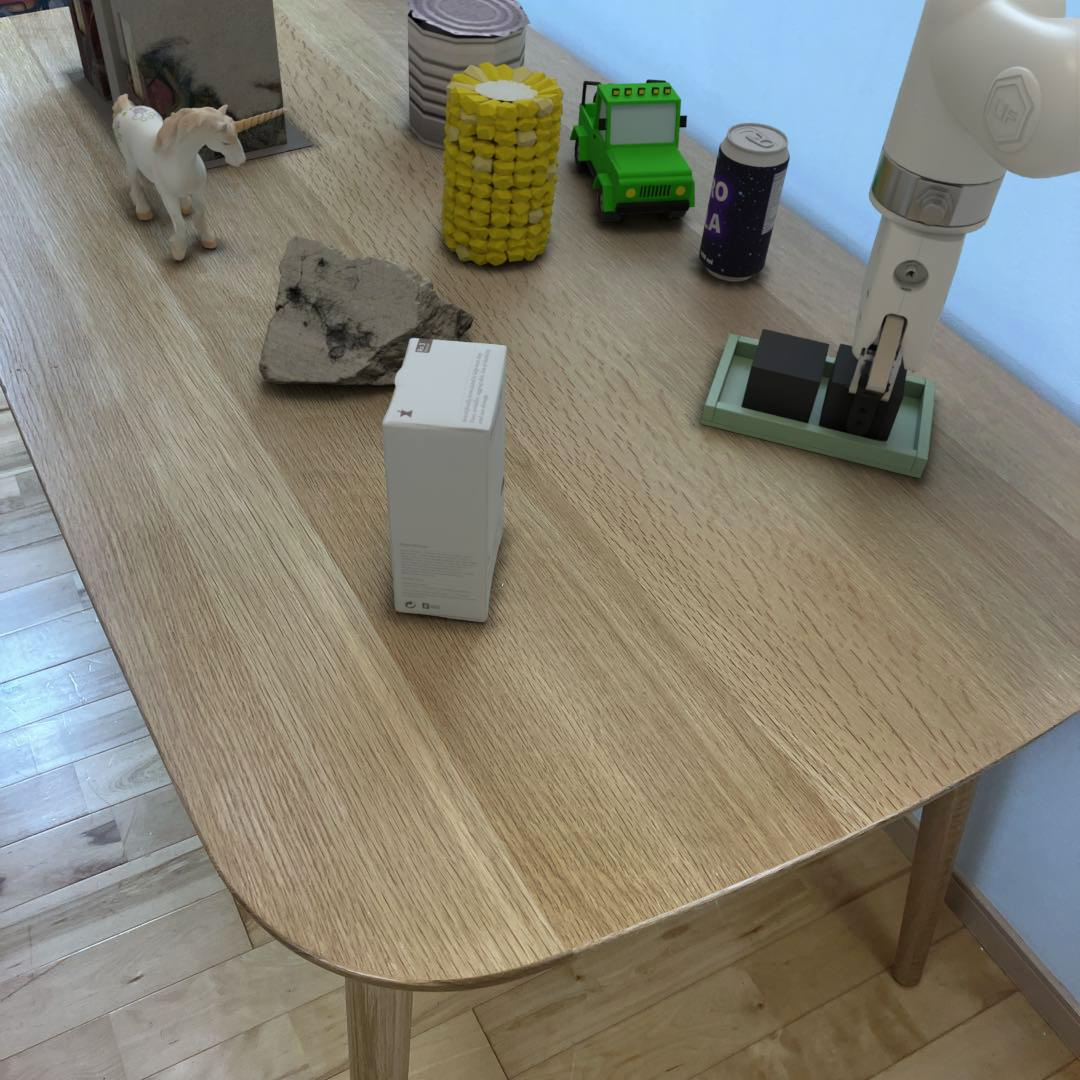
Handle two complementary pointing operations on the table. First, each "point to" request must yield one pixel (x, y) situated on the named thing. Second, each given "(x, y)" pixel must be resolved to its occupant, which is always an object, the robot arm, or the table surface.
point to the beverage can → (744, 200)
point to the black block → (785, 375)
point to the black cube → (844, 375)
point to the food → (500, 162)
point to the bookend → (186, 63)
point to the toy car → (634, 149)
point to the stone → (350, 317)
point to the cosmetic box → (446, 476)
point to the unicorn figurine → (177, 158)
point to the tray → (895, 454)
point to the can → (456, 52)
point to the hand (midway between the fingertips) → (858, 409)
